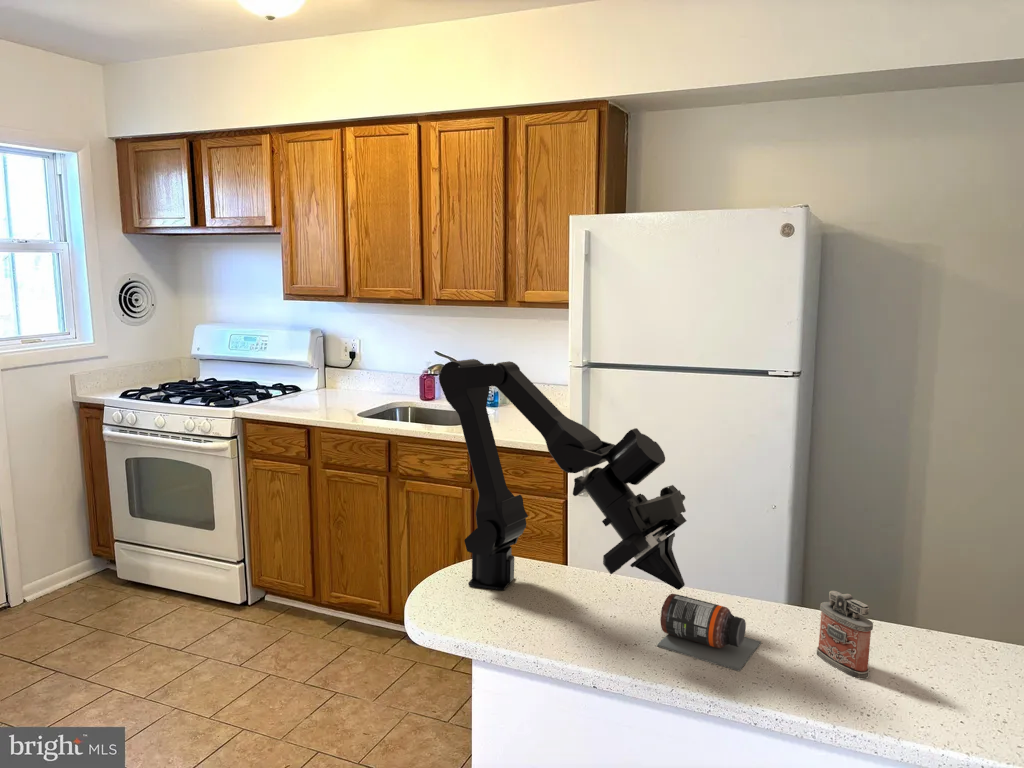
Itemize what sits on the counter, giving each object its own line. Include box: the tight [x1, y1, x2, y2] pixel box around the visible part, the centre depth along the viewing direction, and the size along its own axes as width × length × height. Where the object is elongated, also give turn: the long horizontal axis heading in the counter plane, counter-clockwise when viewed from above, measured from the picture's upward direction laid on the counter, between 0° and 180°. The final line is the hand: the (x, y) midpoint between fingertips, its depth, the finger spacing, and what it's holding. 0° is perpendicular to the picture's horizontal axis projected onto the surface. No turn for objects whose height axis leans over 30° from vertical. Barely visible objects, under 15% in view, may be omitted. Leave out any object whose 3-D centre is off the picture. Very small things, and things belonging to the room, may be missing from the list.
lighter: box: [816, 590, 874, 679], centre depth 105 cm, size 8×3×10 cm, turn 23°
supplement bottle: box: [660, 593, 747, 648], centre depth 110 cm, size 6×6×11 cm
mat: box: [656, 634, 762, 672], centre depth 110 cm, size 12×10×1 cm
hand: (681, 587), depth 112 cm, fingers closed
